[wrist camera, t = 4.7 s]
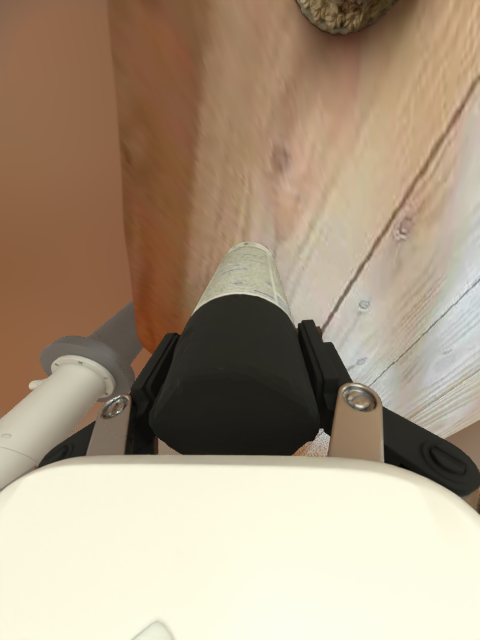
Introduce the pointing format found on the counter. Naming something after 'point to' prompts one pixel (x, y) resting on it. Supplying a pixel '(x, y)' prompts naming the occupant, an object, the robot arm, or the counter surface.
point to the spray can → (238, 368)
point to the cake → (344, 13)
